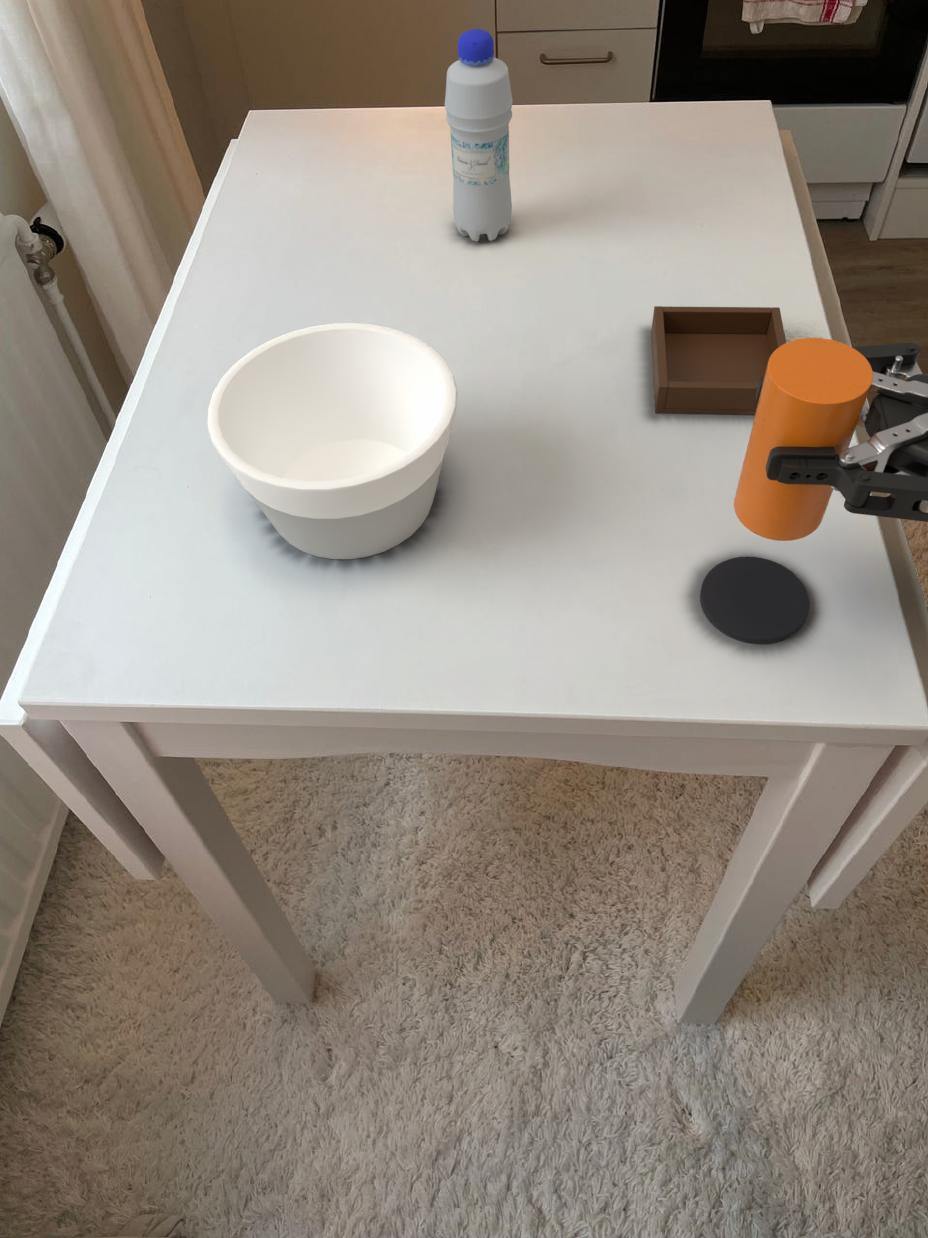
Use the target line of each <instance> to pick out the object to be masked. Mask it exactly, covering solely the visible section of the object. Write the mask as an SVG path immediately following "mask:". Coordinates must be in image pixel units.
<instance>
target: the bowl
mask: <svg viewBox="0 0 928 1238" xmlns="http://www.w3.org/2000/svg"><path fill="white" fill-rule="evenodd" d="M457 401H458V388H457V384H456V380H455V376H454V374H453V373H452V371H451V369H450V367H449V366H448V364H447V362H446V360H445V359H443V357H442V356H441V355H440V354H439V353H438V352H437V351H436V350H435V349H434V348H433V347H431V346H430V345H429V344H428V343H426V342H424V341H422V340H421V339H420V338H418V337H416V336H413V335H411V334H409V333H406V332H404V331H402V330H399V329H395V328H391V327H388V326H383V325H380V324H372V323H362V322H335V323H326V324H320V325H319V324H318V325H312V326H307V327H304V328H299V329H296V330H293V331H289V332H287V333H285V334H282V335H279V336H277V337H274V338H272V339H270V340H268V341H266V342H264V343H262V344H261V345H259V346H257V347H255V348H253V349H252V350H250V351H249V352H248V353H246V354H245V355H244V356H242V357H241V358H240V359H238V360H237V361H236V362H235V363H233V365H232V366H231V367H230V368H229V369H228V370H227V371H226V372H225V374H224V375H223V376H221V379H220V380H219V382H218V383H217V385H216V387H215V389H214V390H213V392H212V395H211V398H210V401H209V405H208V408H207V430H208V434H209V437H210V441H211V444H212V445H213V447H214V449H215V450H216V452H217V453H218V455H219V456H220V458H221V459H222V461H223V462H224V463H225V465H226V466H227V467H228V468H229V470H230V471H231V472H232V474H233V475H234V477H235V478H236V479H237V480H238V482H239V483H240V484H241V486H242V487H243V488H244V490H245V491H247V493H248V494H249V496H250V497H251V498H252V499H253V501H254V502H255V503H256V505H257V507H258V508H259V509H260V510H261V511H262V513H263V514H264V515H265V517H266V518H267V519H268V520H269V522H270V524H271V525H272V526H273V527H274V529H275V530H276V531H277V533H278V534H279V535H280V536H281V537H282V538H283V539H284V540H285V541H286V542H287V543H288V544H289V545H291V546H292V547H294V548H296V549H297V550H299V551H301V552H303V553H305V554H309V555H311V556H315V557H317V558H323V559H324V558H325V559H330V560H354V559H355V560H356V559H361V558H367V557H371V556H374V555H378V554H381V553H384V552H386V551H388V550H391V549H392V548H395V547H397V546H399V545H400V544H402V543H403V542H404V541H405V540H407V539H409V538H410V537H411V536H412V535H413V534H415V533H416V531H417V530H419V528H420V527H422V525H423V523H424V522H425V520H426V519H427V517H428V516H429V515H430V512H431V509H432V505H433V503H434V500H435V495H436V491H437V487H438V484H439V479H440V474H441V471H442V467H443V463H444V459H445V455H446V451H447V448H448V445H449V440H450V437H451V431H452V428H453V424H454V420H455V416H456V412H457V405H458V402H457Z"/></svg>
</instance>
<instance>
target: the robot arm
mask: <svg viewBox="0 0 928 1238" xmlns="http://www.w3.org/2000/svg"><path fill="white" fill-rule="evenodd" d="M851 347H852V348H854V349H855V350H857V351H858V352H860V353H861V354H862V355H863V356H864V357H865V358H866V359H867V361H868V362H869V364H870V366H871V368H872V372H873V381H872V384H871V387H870V390H869V392H868V394H869V393H877V394H876V396H875V397H874V398H872V400H871V403H870V406H869V408H868V407H867V406H866V403H864V406H863V409H862V412H861V414H860V417H859V420H858V423H857V425H856V426H858V427H861V428H864V429H865V432H866V433H867V435H868V437H869V439H868V440H867V441H865V442H862V443H859V444H856V445H853V446H849V448H847V449H844V450H842V451H841V452H840V453H839V454H836V451H835V447H784V446H779V447H775V448H773V449H772V450H771V451H770V453H769V457H768V460H767V464H766V474H767V478H768V479H770V480H777V481H778V482H780V483H784V484H804V485H830V487H831V488H832V489H833V491H835V492H839V493H840V494H841V495H842V497H843V498H844V499H845V500H844V503H843V507H844V509H845V510H846V511H847V512H849V513H851V514H855V515H865V516H873V517H881V518H882V517H883V518H891V519H898V520H906V521H907V520H908V521H915V522H916V521H917V522H924V523H928V373H923V372H922V369H921V368H920V366H919V364H918V358H919V356H920V353H921V350H922V349H921V347H920V345H919V344H916V343H914V342H900V343H888V344H887V343H886V344H873V345H862V346H851ZM764 377H765V375H763V376H762V377H761V378H760V379H759V383H758V387H757V391H756V395H755V396H756V403H757V405H758V401H759V397H760V393H761V389H762V385H763V381H764ZM873 492H874V493H881V494H889V495H887V496H878V495H872V493H873Z"/></svg>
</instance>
